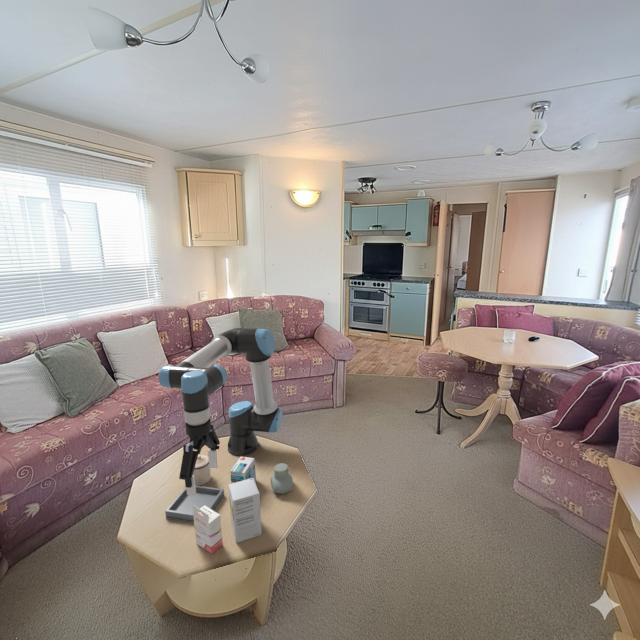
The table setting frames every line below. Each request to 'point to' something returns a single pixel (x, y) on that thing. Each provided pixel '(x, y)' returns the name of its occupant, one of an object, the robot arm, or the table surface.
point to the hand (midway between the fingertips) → (203, 480)
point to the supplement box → (245, 509)
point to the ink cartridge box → (207, 528)
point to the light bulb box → (243, 470)
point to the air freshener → (281, 479)
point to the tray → (194, 502)
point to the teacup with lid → (202, 470)
